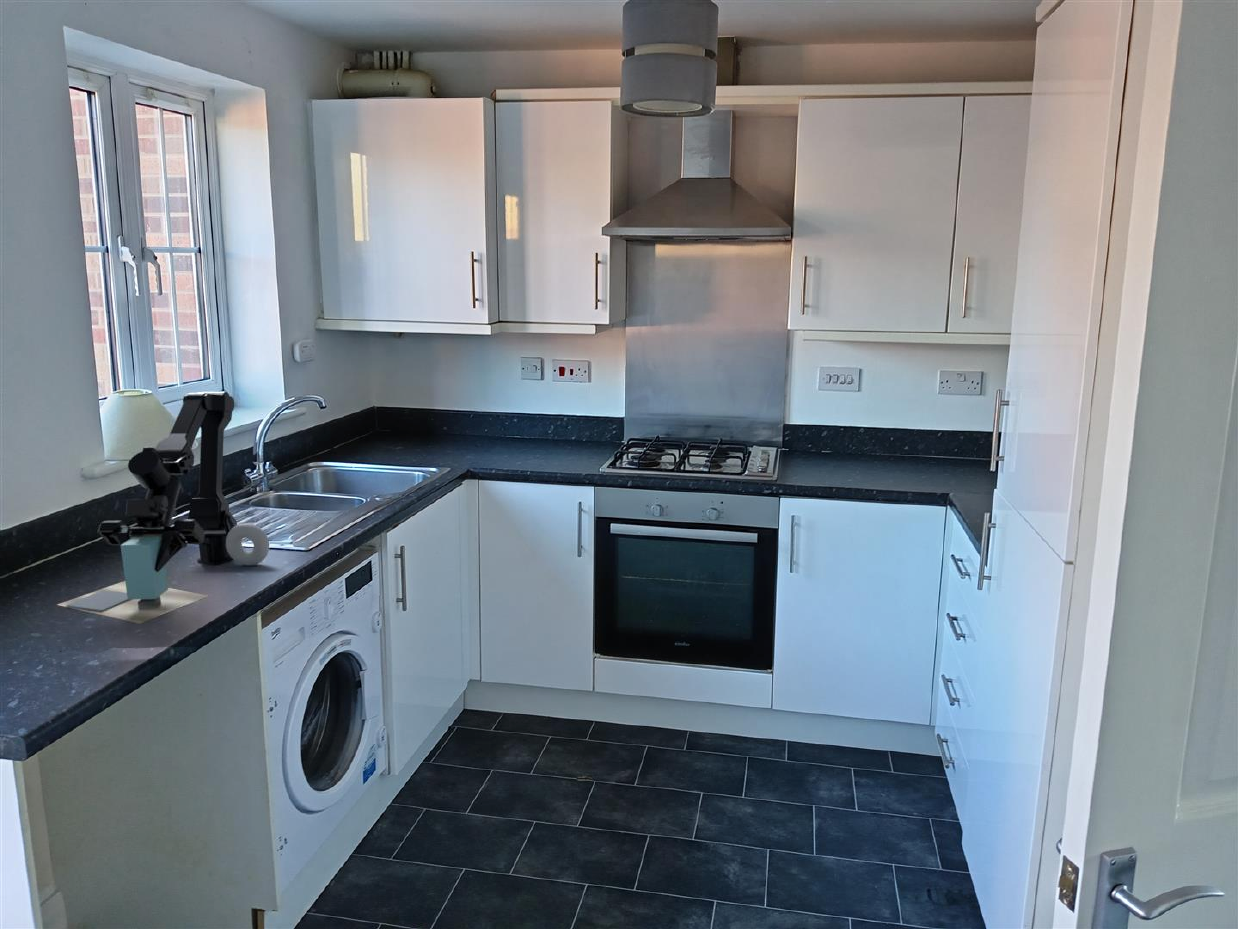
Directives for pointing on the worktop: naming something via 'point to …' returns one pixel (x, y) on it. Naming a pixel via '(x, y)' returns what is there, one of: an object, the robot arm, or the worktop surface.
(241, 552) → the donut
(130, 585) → the tall teal block
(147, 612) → the board
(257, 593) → the worktop surface
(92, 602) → the coaster
